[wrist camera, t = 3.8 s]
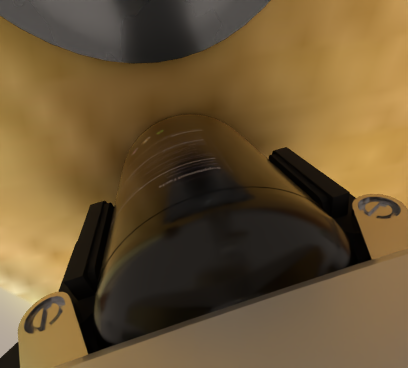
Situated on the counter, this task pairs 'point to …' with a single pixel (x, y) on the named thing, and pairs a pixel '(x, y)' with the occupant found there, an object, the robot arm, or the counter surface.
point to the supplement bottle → (205, 231)
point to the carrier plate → (131, 25)
